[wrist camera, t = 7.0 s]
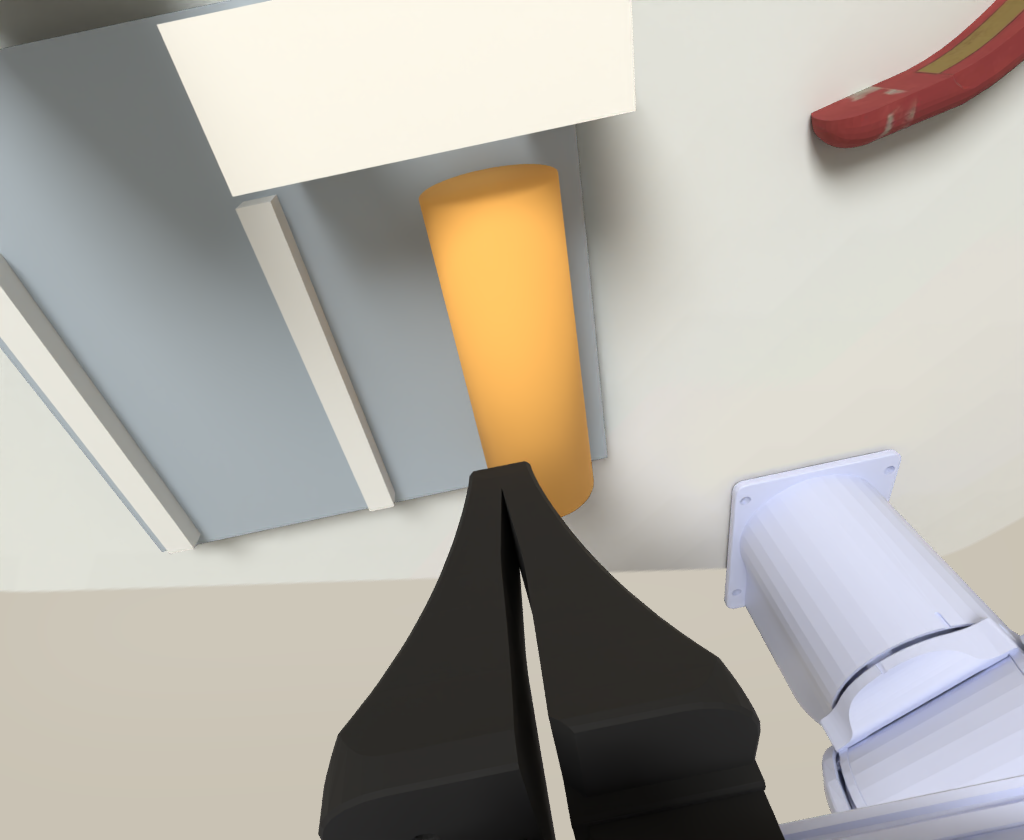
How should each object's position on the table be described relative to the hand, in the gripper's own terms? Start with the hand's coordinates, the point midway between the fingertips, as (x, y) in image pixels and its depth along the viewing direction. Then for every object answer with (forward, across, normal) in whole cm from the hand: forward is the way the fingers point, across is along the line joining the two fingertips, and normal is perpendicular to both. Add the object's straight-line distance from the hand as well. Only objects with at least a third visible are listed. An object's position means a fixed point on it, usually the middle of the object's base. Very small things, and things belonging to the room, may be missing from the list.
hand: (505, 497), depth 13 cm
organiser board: (+9, +6, -2) cm, 11 cm away
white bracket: (+8, 0, -8) cm, 12 cm away
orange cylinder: (+8, 0, 0) cm, 8 cm away
